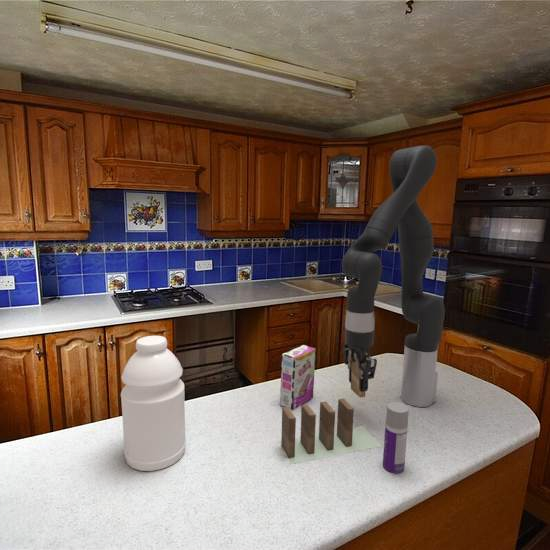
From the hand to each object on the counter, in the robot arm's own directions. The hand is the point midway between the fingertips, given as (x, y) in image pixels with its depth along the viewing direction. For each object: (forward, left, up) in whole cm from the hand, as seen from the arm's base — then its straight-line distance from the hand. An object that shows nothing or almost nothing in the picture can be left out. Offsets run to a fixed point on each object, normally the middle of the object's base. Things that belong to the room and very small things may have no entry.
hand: (358, 386), depth 102 cm
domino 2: (+18, +8, -10) cm, 22 cm away
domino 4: (+8, +8, -10) cm, 15 cm away
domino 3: (+13, +8, -10) cm, 18 cm away
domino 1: (+23, +8, -10) cm, 26 cm away
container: (+2, +20, -10) cm, 23 cm away
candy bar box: (+12, -14, -10) cm, 21 cm away
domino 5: (0, 0, -2) cm, 2 cm away
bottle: (+53, -1, -10) cm, 54 cm away
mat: (+12, +8, -10) cm, 18 cm away
